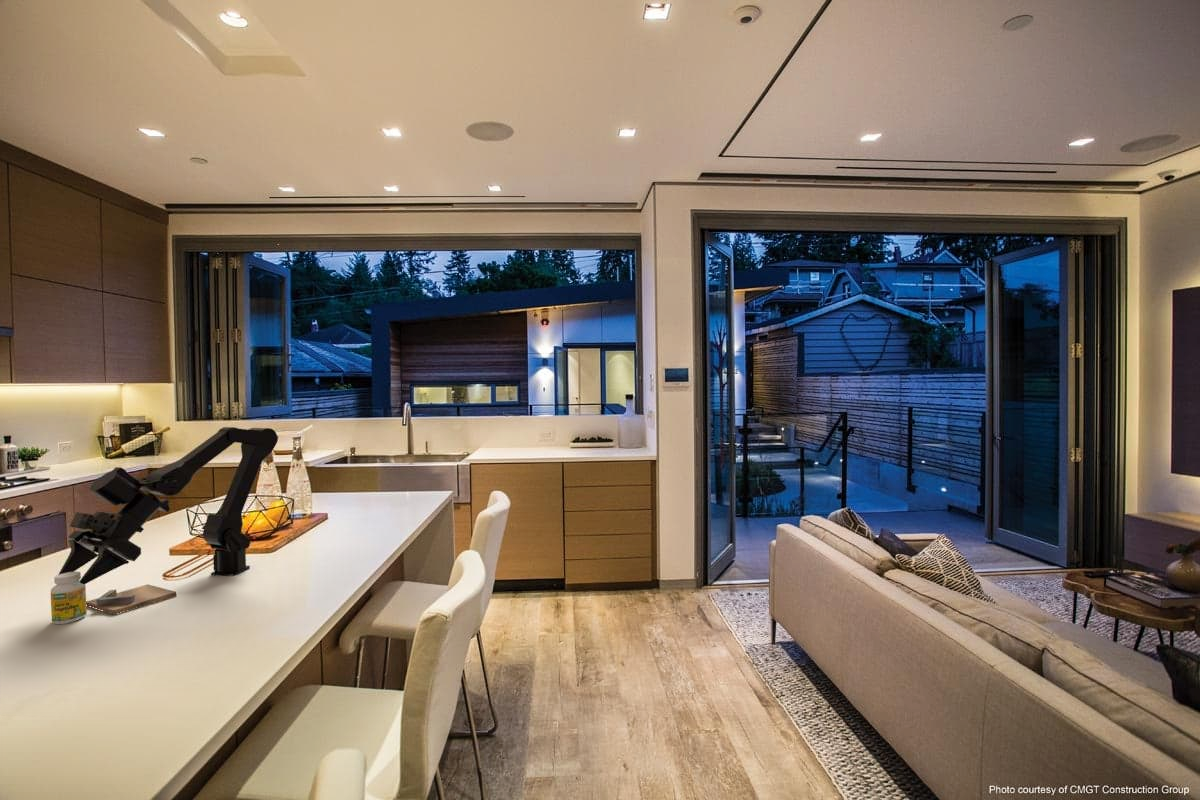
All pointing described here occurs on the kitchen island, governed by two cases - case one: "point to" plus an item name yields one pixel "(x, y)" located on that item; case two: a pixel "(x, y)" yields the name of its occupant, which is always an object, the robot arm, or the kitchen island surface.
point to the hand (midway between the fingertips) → (70, 580)
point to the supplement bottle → (68, 598)
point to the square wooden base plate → (130, 598)
